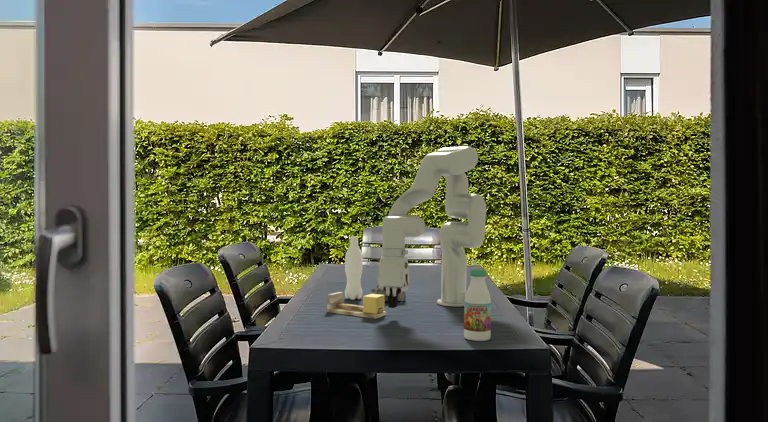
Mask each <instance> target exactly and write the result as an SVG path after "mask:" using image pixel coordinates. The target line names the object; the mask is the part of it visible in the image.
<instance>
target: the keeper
mask: <svg viewBox="0 0 768 422" xmlns="http://www.w3.org/2000/svg"><path fill="white" fill-rule="evenodd" d="M385 302H386V301H385V295H380V294H372V293H369V294H366V295H362V306H363V312H365V313H373V314H377V313H378V309H379V308H383V311H385V305H386V303H385Z"/></svg>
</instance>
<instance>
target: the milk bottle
mask: <svg viewBox="0 0 768 422" xmlns="http://www.w3.org/2000/svg"><path fill="white" fill-rule="evenodd" d="M469 277H470V282H469V285H468V287H467V289H466V295H465V303H464V306H463V307H464V308H463V309H464V311H463V338H464V339H466V340H468V341H474V342H486V341H489V340H490V339H491V336H492V335H491V333H492V332H491V331H492V330H491V328H492V299H491V294H490V292H489V289H488V286H487V283H486V278H487V271H486V270H485V269H470V271H469Z"/></svg>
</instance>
